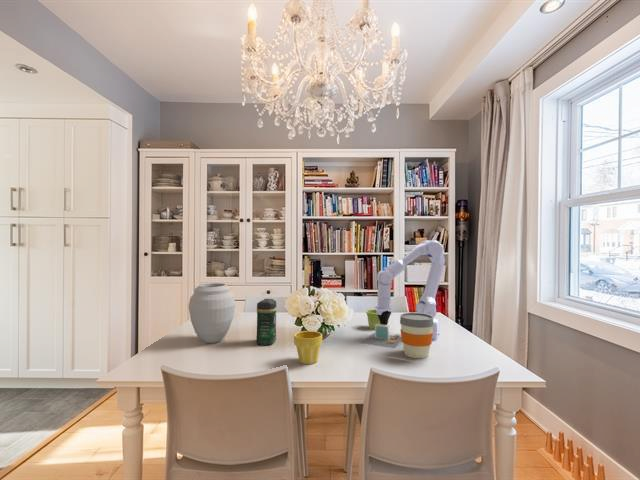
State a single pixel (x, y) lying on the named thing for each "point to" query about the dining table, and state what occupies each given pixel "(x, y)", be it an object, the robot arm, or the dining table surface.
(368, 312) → the plant pot
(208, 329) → the vase
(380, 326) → the tile
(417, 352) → the reusable coffee cup
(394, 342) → the wooden plank
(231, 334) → the dining table surface
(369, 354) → the dining table surface
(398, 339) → the mat
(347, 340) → the dining table surface
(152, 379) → the dining table surface
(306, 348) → the plant pot
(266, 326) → the coffee jar
